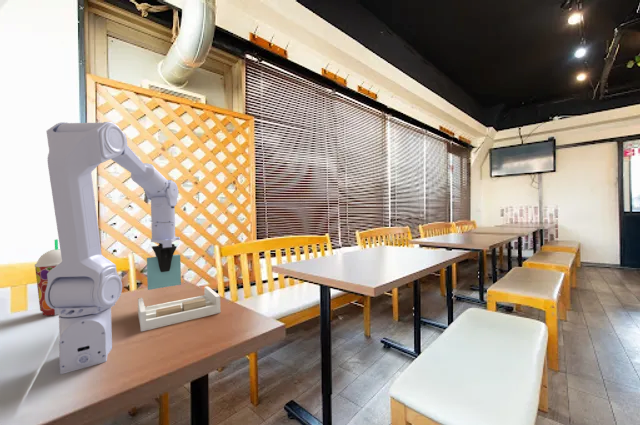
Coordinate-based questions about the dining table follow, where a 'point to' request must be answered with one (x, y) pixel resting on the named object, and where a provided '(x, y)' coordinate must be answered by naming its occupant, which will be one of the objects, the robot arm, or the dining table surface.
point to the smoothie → (42, 268)
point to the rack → (151, 321)
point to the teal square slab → (163, 273)
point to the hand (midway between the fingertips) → (164, 270)
